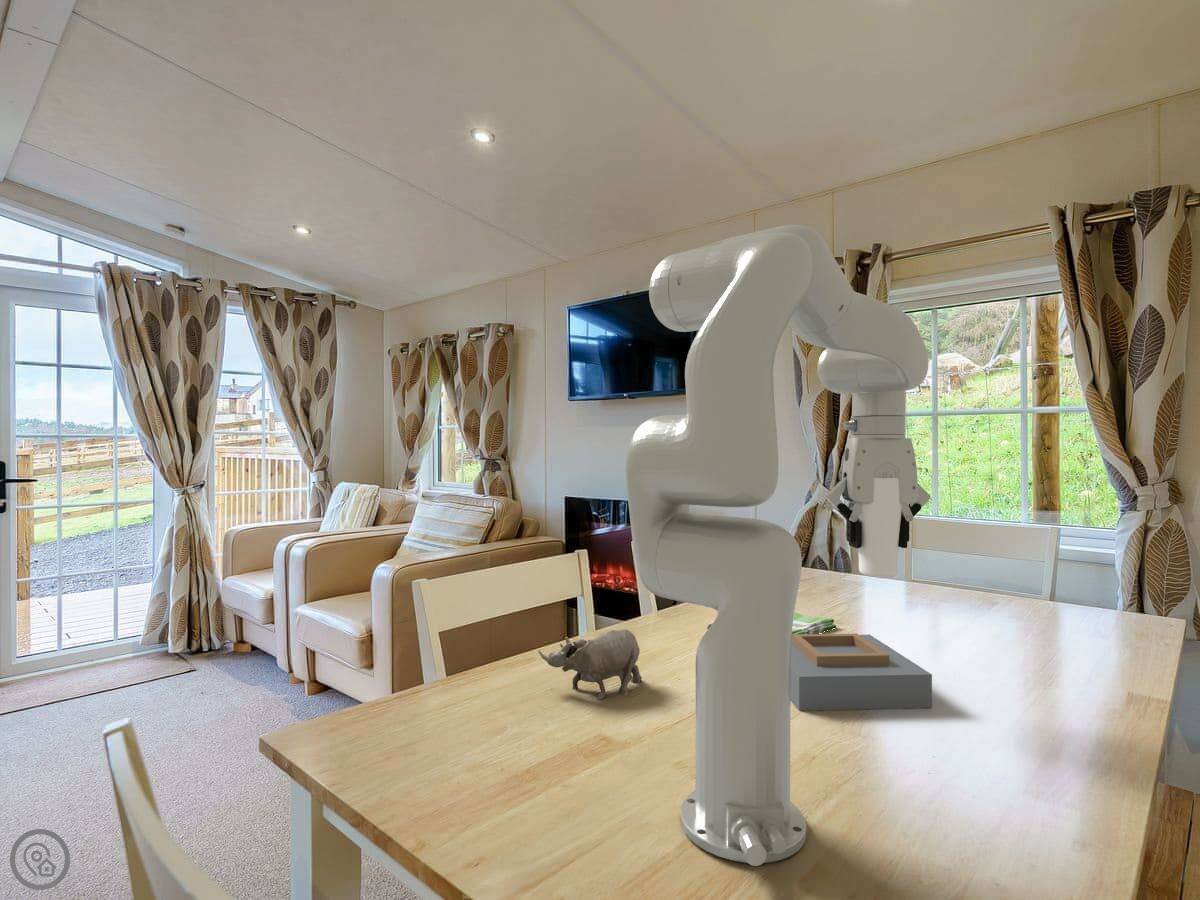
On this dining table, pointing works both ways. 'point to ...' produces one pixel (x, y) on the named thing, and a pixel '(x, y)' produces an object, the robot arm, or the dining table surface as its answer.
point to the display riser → (854, 674)
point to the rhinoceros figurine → (600, 659)
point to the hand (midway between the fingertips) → (877, 545)
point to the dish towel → (807, 624)
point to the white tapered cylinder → (880, 530)
